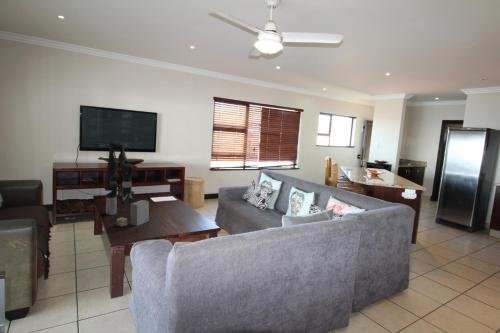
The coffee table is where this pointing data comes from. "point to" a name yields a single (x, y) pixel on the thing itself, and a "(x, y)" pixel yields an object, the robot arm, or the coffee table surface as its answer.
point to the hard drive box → (139, 212)
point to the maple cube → (122, 221)
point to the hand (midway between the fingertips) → (126, 203)
